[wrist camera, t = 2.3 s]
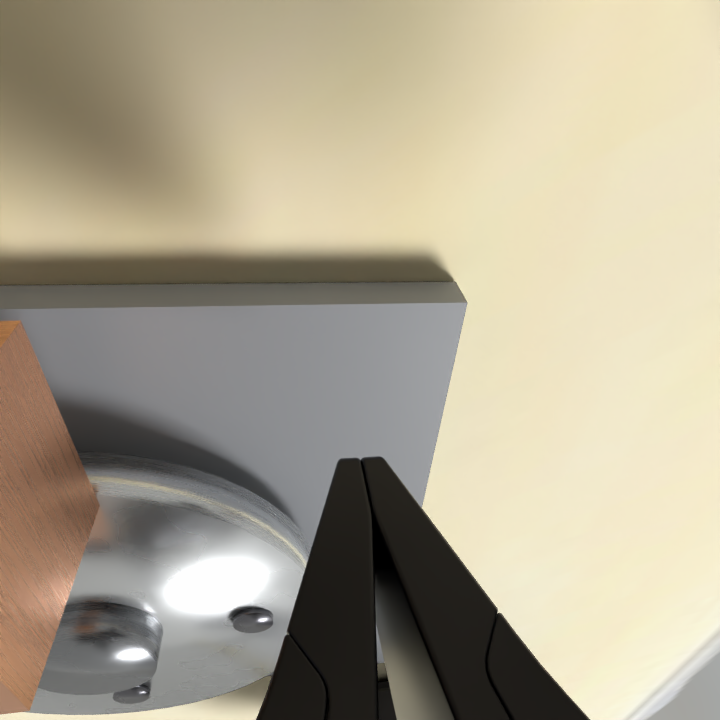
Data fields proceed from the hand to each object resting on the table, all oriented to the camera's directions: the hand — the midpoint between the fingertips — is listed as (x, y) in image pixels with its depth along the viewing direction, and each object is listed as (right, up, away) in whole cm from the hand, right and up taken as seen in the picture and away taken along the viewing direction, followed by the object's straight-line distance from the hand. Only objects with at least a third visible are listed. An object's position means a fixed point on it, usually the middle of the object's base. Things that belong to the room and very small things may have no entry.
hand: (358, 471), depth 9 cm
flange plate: (-8, -3, +5) cm, 10 cm away
